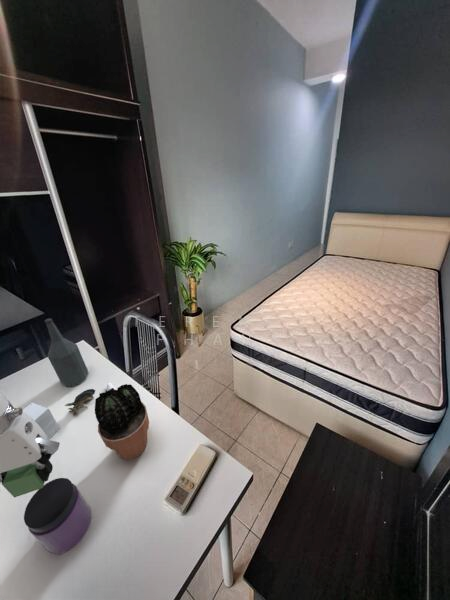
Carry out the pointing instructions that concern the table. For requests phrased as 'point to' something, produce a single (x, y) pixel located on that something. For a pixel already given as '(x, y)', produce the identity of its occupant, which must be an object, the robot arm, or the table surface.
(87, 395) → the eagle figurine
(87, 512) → the jar
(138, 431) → the potted plant
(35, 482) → the block
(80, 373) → the bottle
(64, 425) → the table surface
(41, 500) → the jar lid
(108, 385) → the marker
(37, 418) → the small box
